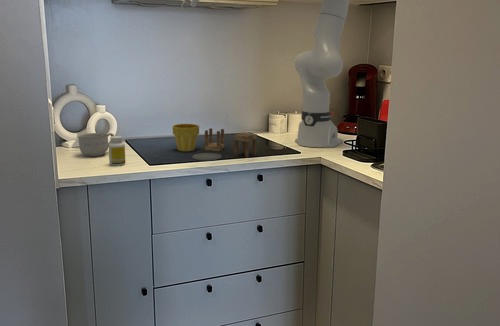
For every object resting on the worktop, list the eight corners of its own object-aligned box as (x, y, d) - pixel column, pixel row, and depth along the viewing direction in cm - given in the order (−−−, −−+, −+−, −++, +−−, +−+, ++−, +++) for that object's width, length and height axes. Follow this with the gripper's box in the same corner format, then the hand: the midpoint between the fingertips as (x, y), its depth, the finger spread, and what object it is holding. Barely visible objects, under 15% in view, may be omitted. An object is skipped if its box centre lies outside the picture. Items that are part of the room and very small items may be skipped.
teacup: (83, 159, 182) (82, 137, 180) (75, 153, 190) (74, 133, 188) (121, 155, 189) (120, 134, 187) (111, 150, 198) (110, 129, 196)
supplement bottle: (128, 164, 175) (127, 136, 173) (115, 167, 171) (113, 138, 169) (119, 161, 179) (118, 134, 176) (106, 164, 175) (104, 136, 172)
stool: (243, 152, 196) (243, 132, 194) (256, 154, 193) (256, 134, 191) (234, 155, 191) (234, 134, 189) (247, 157, 188) (247, 136, 186)
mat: (205, 152, 195) (205, 151, 195) (227, 156, 189) (227, 155, 189) (186, 157, 186) (186, 156, 186) (208, 162, 180) (208, 160, 180)
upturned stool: (210, 147, 205) (210, 128, 204) (224, 148, 204) (224, 129, 202) (205, 150, 200) (204, 130, 198) (219, 151, 198) (219, 131, 196)
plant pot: (194, 153, 194) (194, 128, 192) (169, 151, 196) (168, 127, 194) (202, 147, 204) (202, 124, 202) (178, 146, 206) (177, 122, 204)
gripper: (223, -27, 169) (205, 10, 169) (202, -20, 187) (186, 13, 187) (207, -38, 166) (189, 0, 166) (188, -30, 184) (171, 4, 184)
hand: (187, 7), depth 177 cm, fingers open, 8 cm apart
